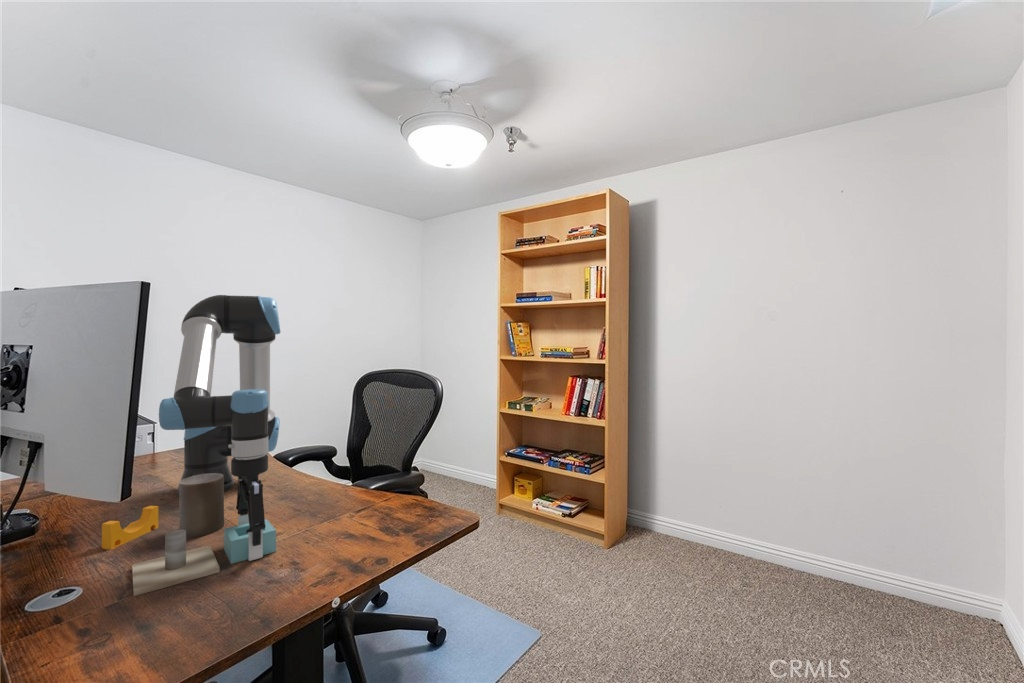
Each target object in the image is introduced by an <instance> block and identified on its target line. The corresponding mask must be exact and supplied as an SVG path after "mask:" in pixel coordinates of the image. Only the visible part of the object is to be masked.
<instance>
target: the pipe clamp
mask: <svg viewBox="0 0 1024 683" xmlns="http://www.w3.org/2000/svg"><path fill="white" fill-rule="evenodd" d="M159 508H160V507H159V505H148V506H146V507H143V508H142V512H141V515H140V518H139V519H136V520H135V521H133V522H130V523H129V524H128V525H127V526H126V527H124V528H123V529H122V526H121V522H120V521H119V520H108V521H106V522H103V523H101V549H103V550H113V549H115V548H118V547H119V546H122V545H124V544H126V543H128V542H130V541H133V540H134V539H137V538H139V537H141V536H144V535H146V534H147V533H150V532H152V530H156V529H158V528H159Z"/></svg>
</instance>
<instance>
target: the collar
mask: <svg viewBox="0 0 1024 683" xmlns="http://www.w3.org/2000/svg"><path fill="white" fill-rule="evenodd" d="M256 525H258V524H256ZM265 525H266V527H265V529H263V556H265V555H268V554H273V553H275V552H277V530H276V528H275V527H274V526H273V525H272V524H271V522H270V521H269V520H268V519H267V518H265ZM249 528H250V527H249V523H247V524H242V525H238V524H237V525H234V526H231V527H225V528H223V537H224V538H223V548H224V549H223V551H224V552H225V555H226V556H227V558H228V561H229V563H230V564H231V565H234V564H236V563H241V562H242V561H247V560H248V533H246V530H247V529H249Z"/></svg>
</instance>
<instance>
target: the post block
mask: <svg viewBox="0 0 1024 683" xmlns="http://www.w3.org/2000/svg"><path fill="white" fill-rule="evenodd" d="M131 566H132V570H131V571H132V591H133V592H132V593H133V597H137V596H140V595H144V594H146V593H151V592H154V591H158V590H161V589H164V588H169V587H171V586H176V585H178V584H183V583H186V582H189V581H192V580H196V579H200V578H203V577H207V576H210V575H211V576H212V575H214V574H218V573H220V569H221V567H220V565H219V563H218V561H217V559H216V556H215V553H214V551H213V549H212V547H211V544H210V545H206V546H202V547H197V548H193V549H190V550H187V537H186V530H179V529H175V530H172V531H169V532H167V533H165V535H164V556H161V557H158V558H154V559H153V558H152V559H148V560H145V561H140V562H136V563H132V565H131Z"/></svg>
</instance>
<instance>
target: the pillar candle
mask: <svg viewBox="0 0 1024 683" xmlns="http://www.w3.org/2000/svg"><path fill="white" fill-rule="evenodd" d="M180 480H181V479H180ZM180 480H179V482H178V486H179V496H178V498H179V499H178V502H179V504H178V505H179V507H178V509H179V511H178V514H179V516H178V519H179V522H178V524H179V526H178V527H179V529H178V530H186V538H200V537H205V536H208V535H211V534H213V533H214V534H215V533H216V532H218V531H219V530H222V529H223V528H224V527H225V526H224V525H225V498H224V497H225V496H224V495H225V492H224V476H223V474H218V473H209V474H201V475H196V476H191V477H188V478H185V479H182V480H181V481H180Z"/></svg>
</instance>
